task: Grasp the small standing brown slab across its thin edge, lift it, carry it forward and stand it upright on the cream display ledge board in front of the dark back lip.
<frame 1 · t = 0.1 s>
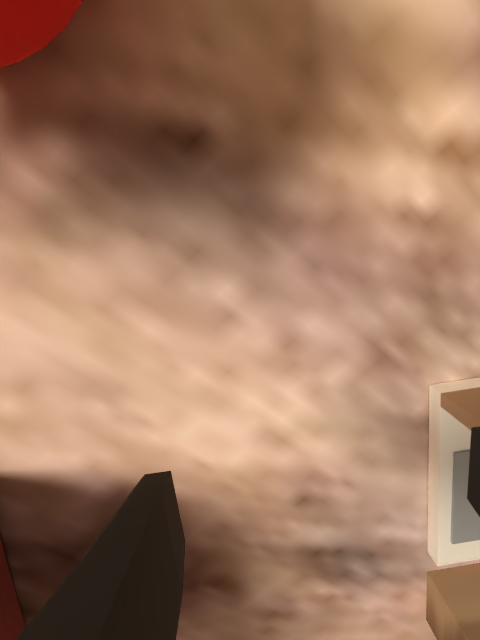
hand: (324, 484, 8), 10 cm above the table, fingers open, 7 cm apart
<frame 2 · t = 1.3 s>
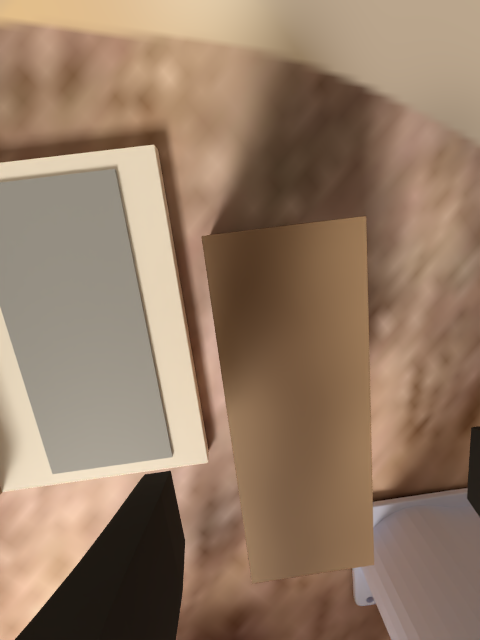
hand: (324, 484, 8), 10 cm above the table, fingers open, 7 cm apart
display ledge: (69, 333, 17), on the table
brown slab: (266, 343, 18), on the table
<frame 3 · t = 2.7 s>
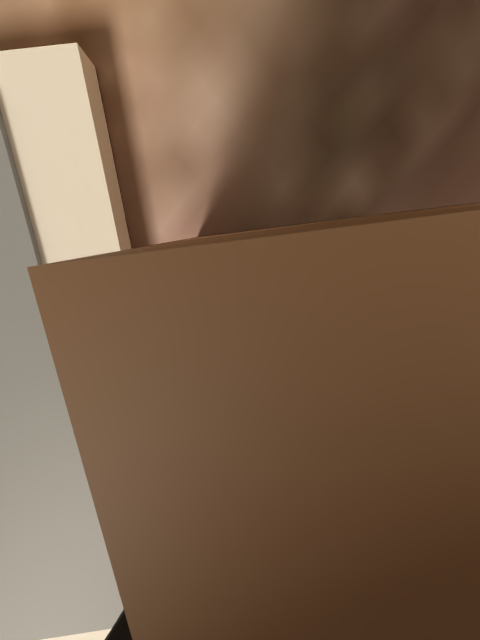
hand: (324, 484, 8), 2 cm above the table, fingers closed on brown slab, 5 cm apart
brown slab: (298, 427, 10), on the table, touching gripper
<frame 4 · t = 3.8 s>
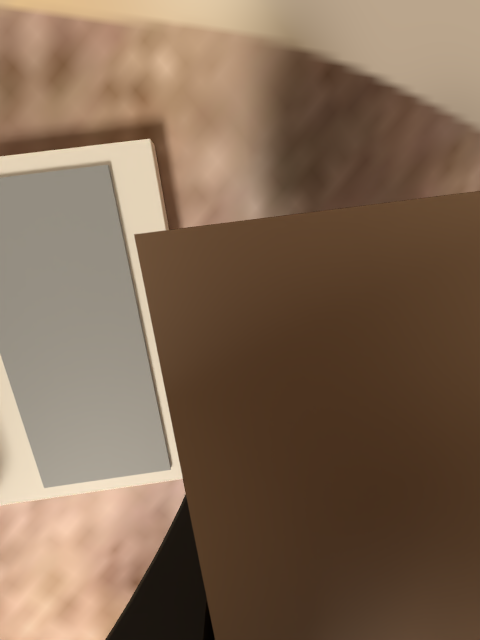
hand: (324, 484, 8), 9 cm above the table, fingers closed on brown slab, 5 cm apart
display ledge: (61, 339, 16), on the table
brown slab: (288, 399, 12), point 5 cm above the table, touching gripper
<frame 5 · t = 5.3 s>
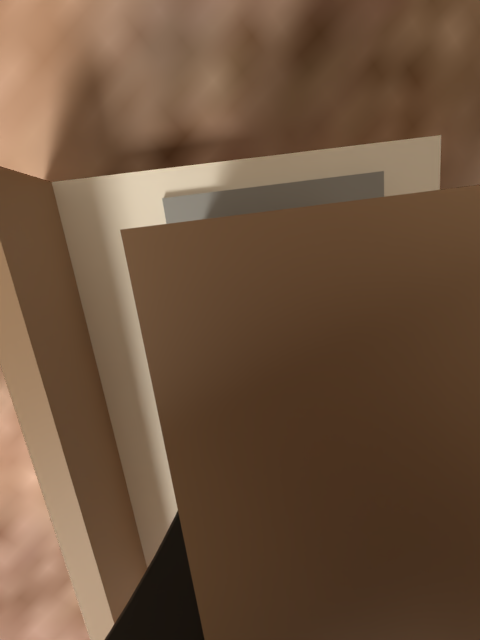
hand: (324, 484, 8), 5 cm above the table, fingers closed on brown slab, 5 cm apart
display ledge: (260, 396, 13), on the table
brown slab: (290, 406, 11), point 1 cm above the table, touching display ledge, gripper
when the fingers open (5 cm above the table, at t = 5.7 s): brown slab stays where it is, resting on display ledge.
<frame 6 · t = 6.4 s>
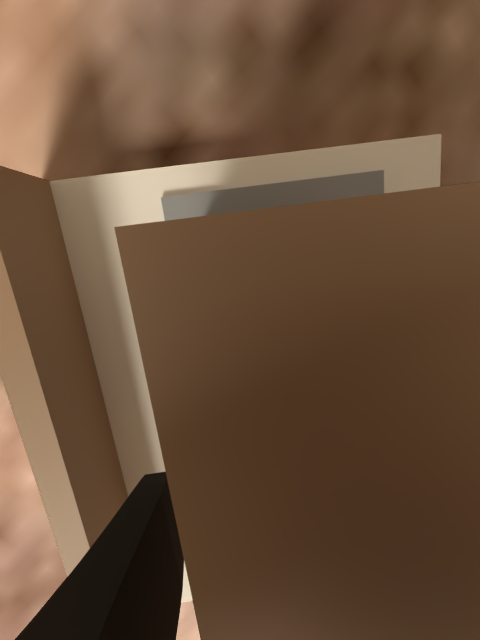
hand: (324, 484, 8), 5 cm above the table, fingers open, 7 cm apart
display ledge: (260, 396, 12), on the table
brown slab: (290, 406, 11), point 1 cm above the table, touching display ledge
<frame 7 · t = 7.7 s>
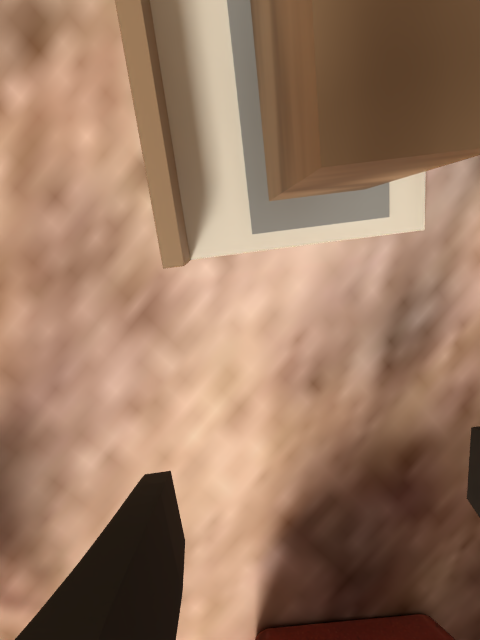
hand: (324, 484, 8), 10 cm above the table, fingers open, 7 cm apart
display ledge: (281, 60, 15), on the table
brown slab: (308, 38, 14), point 1 cm above the table, touching display ledge
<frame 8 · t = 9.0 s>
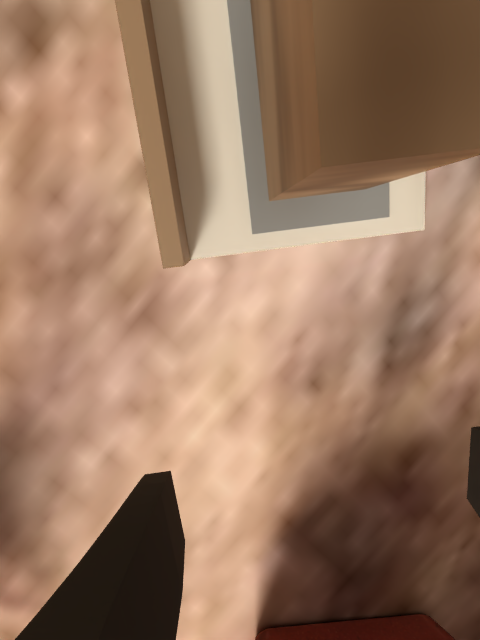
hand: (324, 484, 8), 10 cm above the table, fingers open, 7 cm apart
display ledge: (281, 60, 15), on the table
brown slab: (308, 38, 14), point 1 cm above the table, touching display ledge
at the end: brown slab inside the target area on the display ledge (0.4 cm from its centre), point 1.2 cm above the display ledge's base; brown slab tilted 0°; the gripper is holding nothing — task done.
